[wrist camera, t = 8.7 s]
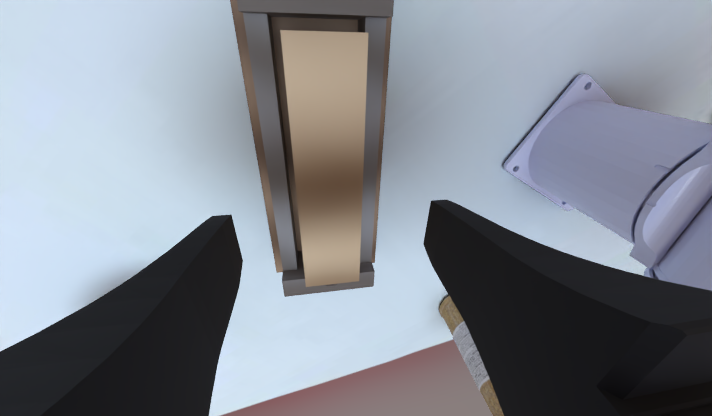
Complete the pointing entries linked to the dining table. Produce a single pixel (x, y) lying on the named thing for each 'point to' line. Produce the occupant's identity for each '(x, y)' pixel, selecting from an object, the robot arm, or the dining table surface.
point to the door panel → (327, 147)
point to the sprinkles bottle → (470, 354)
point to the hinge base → (272, 128)
